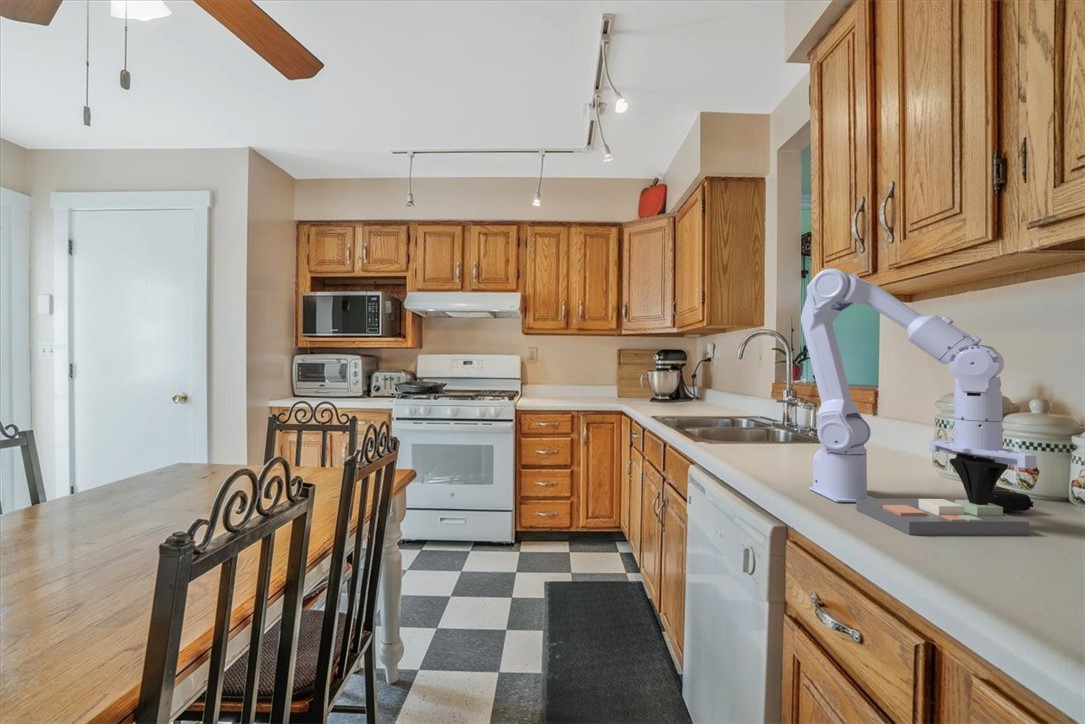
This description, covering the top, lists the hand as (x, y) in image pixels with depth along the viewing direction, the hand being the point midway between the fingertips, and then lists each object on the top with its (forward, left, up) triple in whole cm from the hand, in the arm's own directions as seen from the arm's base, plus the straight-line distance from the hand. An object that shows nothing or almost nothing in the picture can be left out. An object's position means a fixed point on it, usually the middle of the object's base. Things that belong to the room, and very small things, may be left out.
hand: (978, 503), depth 75 cm
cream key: (0, -6, -2) cm, 6 cm away
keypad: (-1, -6, -3) cm, 7 cm away
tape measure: (-7, +10, -4) cm, 13 cm away
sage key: (0, 0, -2) cm, 2 cm away
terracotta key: (0, -12, -3) cm, 12 cm away
